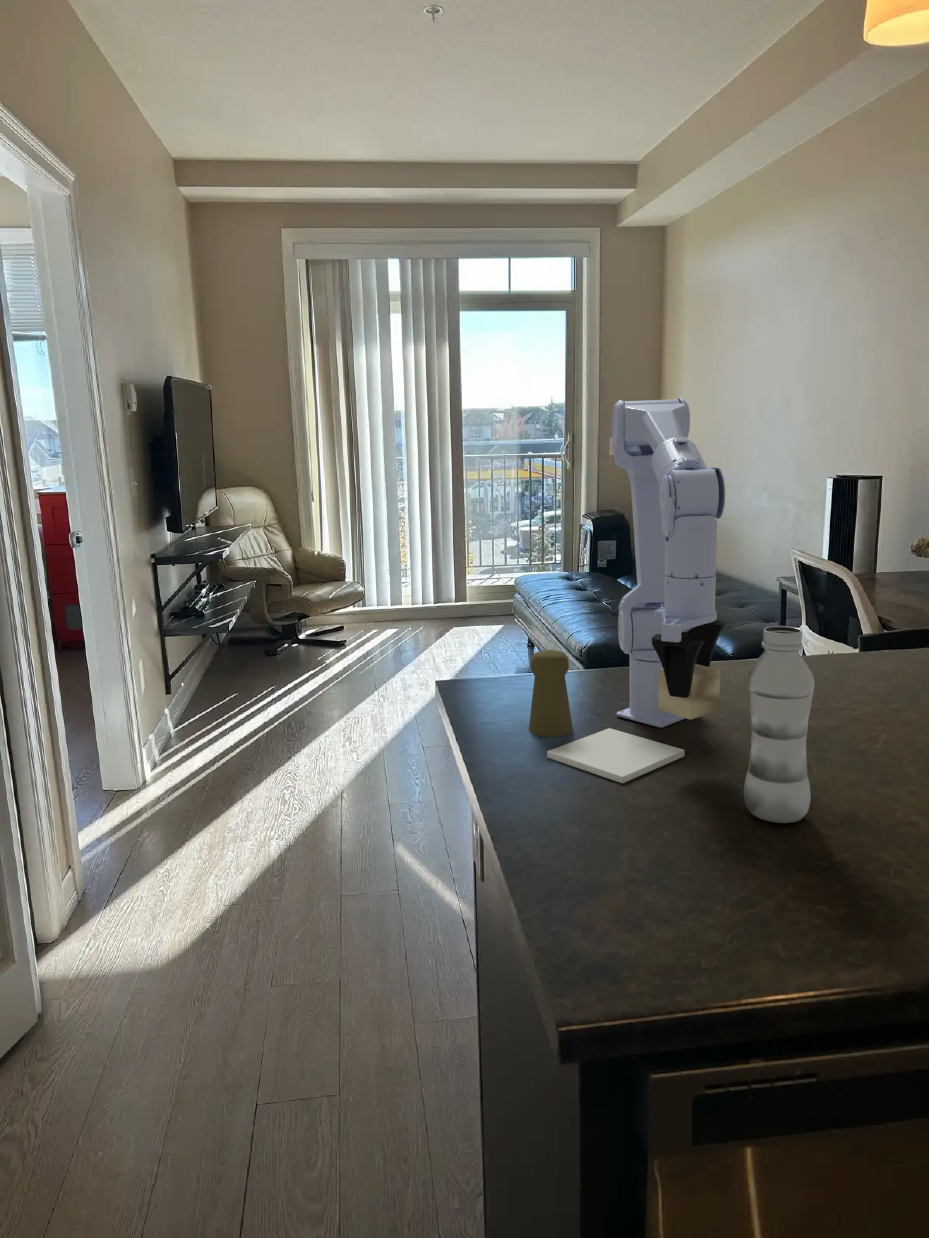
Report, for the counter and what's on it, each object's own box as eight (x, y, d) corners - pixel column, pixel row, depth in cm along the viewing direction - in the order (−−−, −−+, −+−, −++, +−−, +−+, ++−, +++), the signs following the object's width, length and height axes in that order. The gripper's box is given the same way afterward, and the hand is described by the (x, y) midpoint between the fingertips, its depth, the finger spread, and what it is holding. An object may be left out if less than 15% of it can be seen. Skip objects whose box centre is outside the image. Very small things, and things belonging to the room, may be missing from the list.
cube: (687, 701, 109) (687, 661, 108) (719, 710, 105) (720, 670, 104) (658, 709, 107) (658, 669, 105) (690, 719, 102) (691, 677, 101)
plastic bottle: (778, 836, 88) (785, 640, 84) (728, 812, 94) (733, 628, 90) (824, 821, 91) (833, 631, 87) (773, 798, 97) (780, 619, 93)
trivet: (609, 733, 119) (609, 728, 119) (684, 756, 110) (684, 749, 110) (547, 757, 112) (547, 751, 111) (622, 783, 103) (622, 776, 103)
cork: (570, 737, 118) (569, 657, 116) (525, 736, 120) (523, 656, 117) (574, 722, 124) (573, 646, 122) (531, 721, 125) (529, 645, 123)
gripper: (675, 563, 111) (673, 669, 113) (635, 583, 98) (634, 700, 101) (732, 566, 107) (729, 674, 110) (698, 587, 95) (696, 708, 98)
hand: (688, 687), depth 105 cm, fingers closed on cube, 7 cm apart
